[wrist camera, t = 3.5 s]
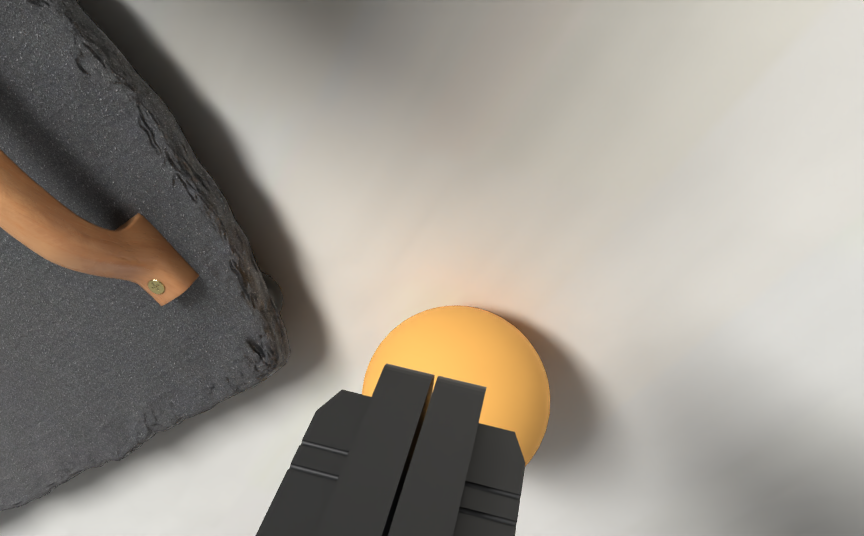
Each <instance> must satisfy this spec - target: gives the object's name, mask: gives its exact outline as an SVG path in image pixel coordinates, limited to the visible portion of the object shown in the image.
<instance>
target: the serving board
mask: <svg viewBox="0 0 864 536" xmlns="http://www.w3.org/2000/svg"><path fill="white" fill-rule="evenodd" d="M282 299H283V297H282V292H281V289H280V287H279V286H278V284H277V283H276V281H274V280H273V279H272V278H271V277H270V276H268V275H266V274H264V273H262V272H260V269H259V267H258V265H257V263H256V260H255V258H254V255H253V252H252V249H251V246H250V243H249V240H248V238H247V237H246V235H245V234H244V232H243V231H242V229H241V228H240V226H239V225H238V223H237V222H236V220H235V218H234V216H233V214H232V211H231V209H230V207H229V205H228V202H227V200H226V198H225V197H224V195H223V194H222V192H221V191H220V189H219V188H218V186H217V185H216V183H215V181H214V180H213V179H212V177H211V176H210V175H209V173H208V172H207V171H206V170H205V168H204V167H203V166H202V165H201V163H200V162H199V161H198V159H197V158H196V156H195V154H194V152H193V150H192V148H191V146H190V145H189V143H188V141H187V139H186V137H185V135H184V134H183V132H182V130H181V128H180V126H179V125H178V123H177V121H176V119H175V117H174V116H173V114H172V113H171V111H170V110H169V109H168V108H167V106H166V105H165V104H164V102H163V101H162V100H161V98H160V97H159V96H158V94H157V93H156V92H155V91H154V90H153V89H152V88H151V87H150V86H149V85H148V84H147V83H146V82H145V81H144V80H143V78H142V77H141V76H140V75H139V74H138V73H137V72H136V70H135V69H134V68H133V67H132V65H131V64H130V63H129V62H128V60H127V59H126V58H125V57H124V55H123V54H122V53H121V52H120V51H119V49H118V48H117V47H116V46H115V45H114V44H113V43H112V41H111V40H110V39H109V38H108V37H107V36H106V34H105V33H104V32H103V31H102V30H101V29H100V28H99V27H98V26H97V25H96V24H95V23H94V22H93V21H92V20H91V18H90V17H89V16H88V15H87V14H86V13H85V12H84V11H83V9H82V8H81V7H80V6H79V4H78V3H77V2H76V1H75V0H0V511H2V510H6V509H11V508H15V507H19V506H22V505H24V504H26V503H28V502H30V501H31V500H34V499H37V498H40V497H42V496H44V495H46V494H48V493H50V492H51V491H52V490H54V489H55V488H56V487H57V486H58V485H59V484H62V483H65V482H67V481H68V480H70V479H71V478H73V477H75V476H76V475H78V474H79V473H81V472H83V471H85V470H87V469H89V468H93V467H100V466H103V465H104V464H105V463H106V462H108V461H119V460H121V459H123V458H124V457H126V456H127V455H128V454H130V453H132V452H133V451H135V450H136V449H138V448H139V447H141V445H142V444H143V443H144V442H145V441H147V440H149V439H150V438H151V437H153V436H154V435H155V434H156V432H159V431H165V430H167V429H169V428H171V427H173V426H175V425H177V424H180V423H181V422H182V421H183V420H184V419H185V418H188V417H192V416H195V415H197V414H200V413H203V412H205V411H207V410H210V409H211V408H213V407H214V406H215V405H216V404H218V403H219V402H221V401H223V400H225V399H227V398H230V397H232V396H234V395H236V394H238V393H240V392H243V391H245V390H248V389H250V388H252V387H255V386H256V385H258V384H259V383H261V382H262V381H264V380H265V379H267V378H269V377H270V376H272V375H273V374H274V373H275V372H276V371H277V370H279V369H280V368H281V367H282V366H284V365H285V364H286V362H287V360H288V357H289V355H290V347H289V342H288V338H287V333H286V329H285V326H284V324H283V321H282V319H281V316H280V313H279V312H280V310H281V308H282Z"/></svg>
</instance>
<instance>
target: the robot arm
mask: <svg viewBox="0 0 864 536" xmlns="http://www.w3.org/2000/svg"><path fill="white" fill-rule="evenodd" d="M434 378H435V375H433V374H429V373H425V372H421V371H417V370H412V369H408V368H404V367H400V366H396V365H392V364H385V366H384V368H383V370H382V372H381V374H380V377H379V379H378V382H377V384H376V387H375V389H374V392H373V394H372V397H370V396H366V395H362V394H358V393H354V392H350V391H346V390H341V391H340V392H339V393H337V394H336V395H335V396H334V397H333V398H331V399H330V400H329V401H328V402H327V403H325V404H324V405H323V406H322V407H320V408H319V409H318V410H317V411H316V412H315V415H314V417H313V419H312V421H311V423H310V425H309V427H308V429H307V431H306V433H305V435H304V437H303V439H302V444H301V445H299V448H298V450H297V452H296V454H295V456H294V458H293V460H292V462H291V466H290V469H288V470H287V472H286V474H285V476H284V478H283V481H282V483H281V485H280V487H279V489H278V491H277V493H276V495H275V497H274V499H273V501H272V503H271V505H270V507H269V509H268V511H267V513H266V516H265V518H264V520H263V522H262V524H261V526H260V528H259V530H258V532H257V534H256V536H515V531H516V523H517V517H518V510H519V504H520V496H521V490H522V483H523V476H524V469H525V460H524V457H523V454H522V451H521V448H520V446H519V443H518V440H517V437H516V434H515V432H513V431H509V430H505V429H501V428H497V427H493V426H489V425H485V424H481V423H479V419H480V414H481V410H482V406H483V401H484V397H485V392H486V388H487V387H484V386H480V385H476V384H472V383H467V382H463V381H459V380H455V379H451V378H447V377H442V376H438V377H437V380H436V383H435V386H434V389H433V385H434ZM432 391H433V393H432Z"/></svg>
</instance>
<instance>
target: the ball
mask: <svg viewBox="0 0 864 536" xmlns="http://www.w3.org/2000/svg"><path fill="white" fill-rule="evenodd" d="M385 364H392V365H396V366H400V367H404V368H408V369H412V370H417V371H421V372H425V373H429V374H433V375H435V378H434V385H433V389H434V386H435V383H436V380H437V377H438V376H442V377H447V378H451V379H455V380H459V381H463V382H467V383H472V384H476V385H480V386H484V387H487V388H486V392H485V397H484V401H483V406H482V410H481V414H480V419H479V423H481V424H485V425H489V426H493V427H497V428H501V429H505V430H509V431H513V432H515V434H516V437H517V440H518V443H519V446H520V448H521V451H522V454H523V457H524V460H525V466H526V465H527V464H528V463H529V462H530V460H531V459H532V457H533V456H534V454H535V453H536V451H537V450H538V448H539V446H540V444H541V442H542V439H543V437H544V434H545V432H546V428H547V424H548V419H549V415H550V391H549V384H548V378H547V375H546V372H545V369H544V366H543V364H542V361H541V359H540V357H539V355H538V353H537V352H536V350H535V349H534V348H533V346H532V345H531V343H530V342H529V340H528V339H527V338H526V337H525V336H524V335H523V334H522V333H521V332H520V331H519V330H518V329H517V328H516V327H514V326H513V325H512V324H510V323H509V322H507V321H506V320H505V319H503V318H501V317H499V316H497V315H495V314H493V313H491V312H488V311H485V310H482V309H479V308H474V307H469V306H444V307H437V308H433V309H429V310H426V311H423V312H421V313H418V314H416V315H414V316H412V317H410V318H408V319H407V320H405V321H404V322H402V323H401V324H400V325H398V326H397V327H396V328H395V329H393V330H392V331H391V332H390V333H389V334H388V335H387V337H386V338H385V339H384V340H383V341H382V342H381V344H380V345H379V346H378V348H377V350H376V351H375V353H374V355H373V357H372V358H371V361H370V363H369V365H368V368H367V371H366V374H365V378H364V383H363V389H362V395H366V396H370V397H372V394H373V392H374V389H375V387H376V384H377V382H378V379H379V377H380V374H381V372H382V370H383V368H384V366H385ZM432 393H433V391H432Z"/></svg>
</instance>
